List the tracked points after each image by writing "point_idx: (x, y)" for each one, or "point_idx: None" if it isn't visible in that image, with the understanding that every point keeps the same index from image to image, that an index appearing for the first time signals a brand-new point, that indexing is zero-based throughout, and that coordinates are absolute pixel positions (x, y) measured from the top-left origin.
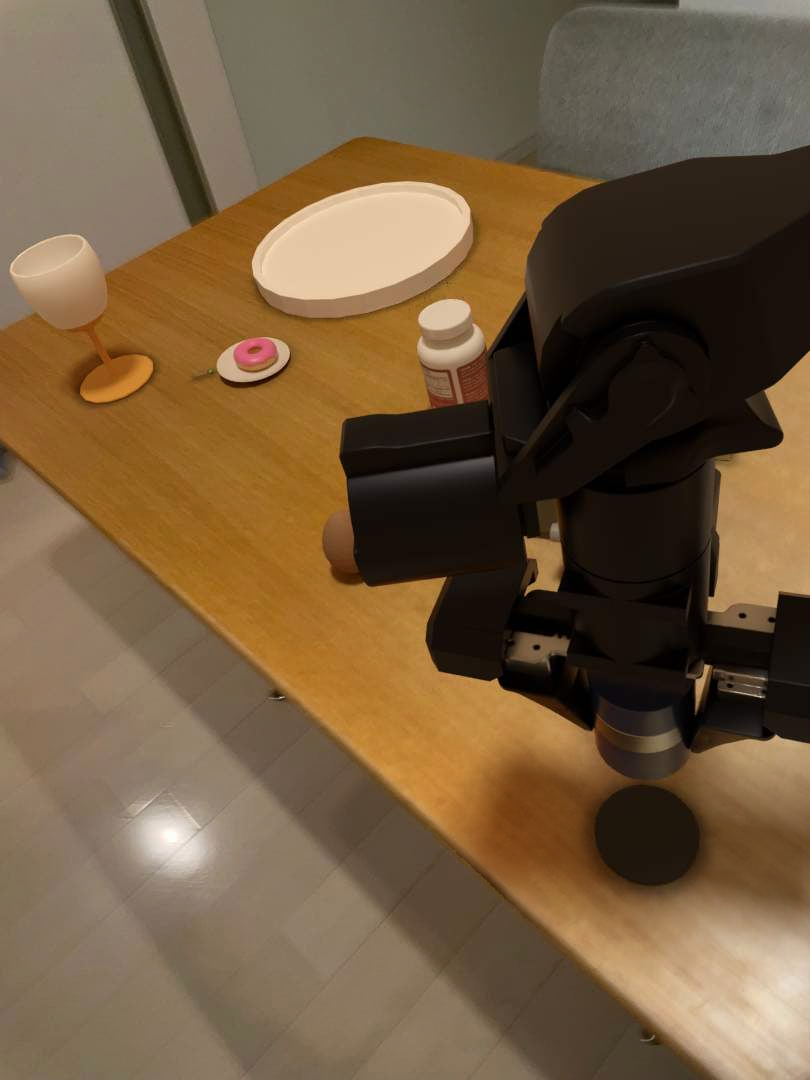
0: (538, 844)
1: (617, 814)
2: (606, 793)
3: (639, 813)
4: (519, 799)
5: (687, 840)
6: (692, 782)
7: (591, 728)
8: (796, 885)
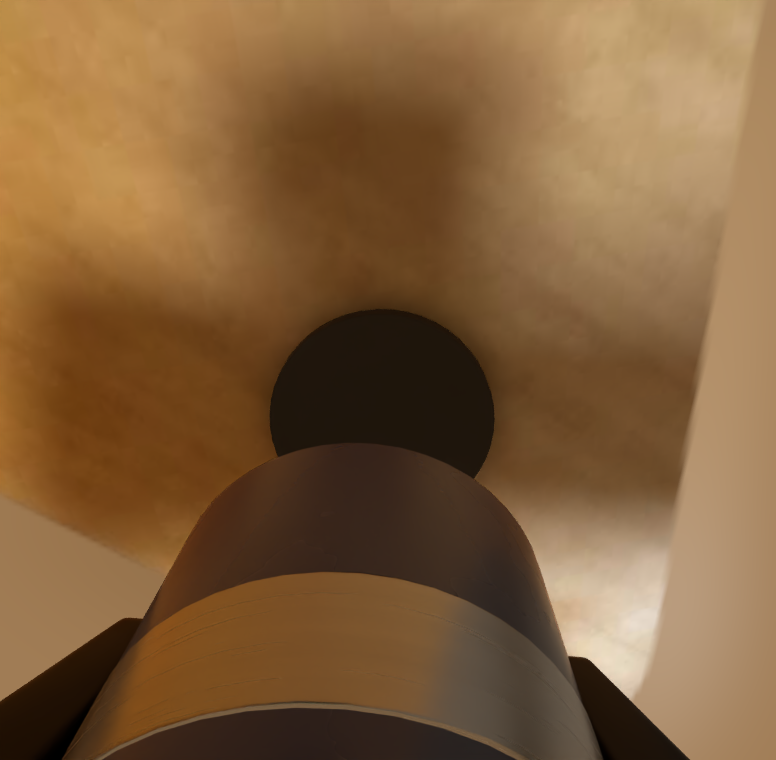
0: (164, 468)
1: (315, 397)
2: (283, 333)
3: (363, 386)
4: (92, 379)
5: (469, 428)
6: (475, 274)
7: None
8: (675, 463)
